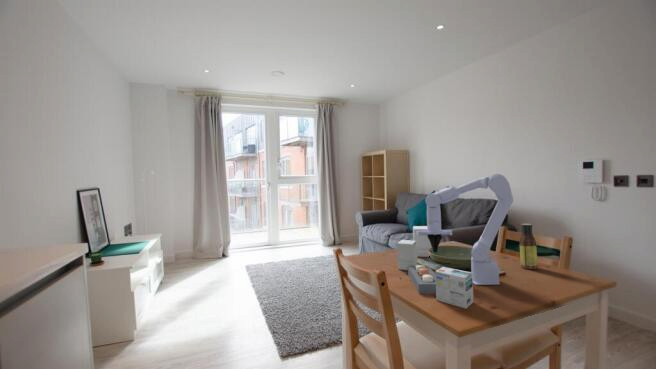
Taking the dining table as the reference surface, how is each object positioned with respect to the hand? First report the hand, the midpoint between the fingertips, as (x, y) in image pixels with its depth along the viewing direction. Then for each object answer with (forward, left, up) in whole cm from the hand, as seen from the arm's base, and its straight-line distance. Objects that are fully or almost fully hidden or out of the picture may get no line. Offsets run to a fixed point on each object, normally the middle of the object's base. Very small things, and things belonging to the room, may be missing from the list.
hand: (434, 251), depth 128 cm
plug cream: (+7, +14, -10) cm, 19 cm away
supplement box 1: (+10, -10, -11) cm, 18 cm away
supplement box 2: (-2, -31, -11) cm, 33 cm away
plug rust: (+7, +9, -9) cm, 14 cm away
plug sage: (+7, +2, -10) cm, 12 cm away
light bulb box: (+1, +26, -11) cm, 28 cm away
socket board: (+7, +8, -10) cm, 15 cm away
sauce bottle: (-43, -7, -11) cm, 45 cm away
